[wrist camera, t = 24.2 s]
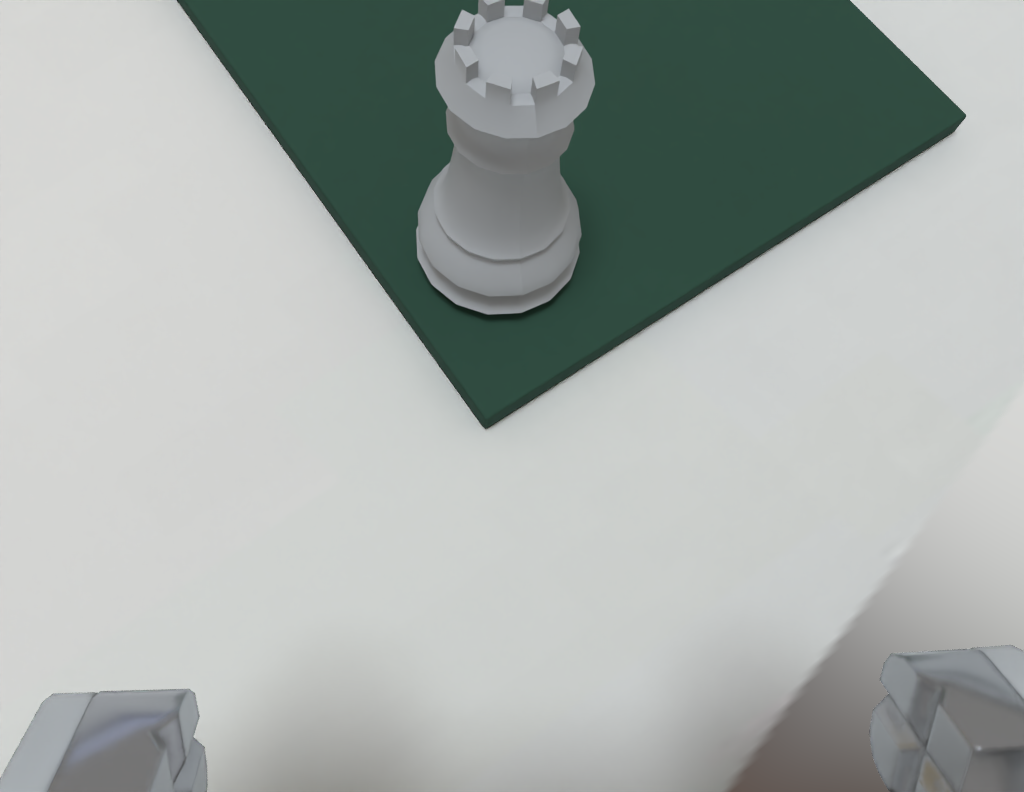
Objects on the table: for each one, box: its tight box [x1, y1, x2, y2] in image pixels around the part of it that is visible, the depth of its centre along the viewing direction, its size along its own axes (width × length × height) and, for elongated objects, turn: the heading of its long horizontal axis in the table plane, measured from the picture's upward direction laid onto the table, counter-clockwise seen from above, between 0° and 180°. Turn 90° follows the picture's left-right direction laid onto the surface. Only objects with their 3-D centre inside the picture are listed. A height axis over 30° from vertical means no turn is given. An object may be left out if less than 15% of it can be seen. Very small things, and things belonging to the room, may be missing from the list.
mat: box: [177, 0, 966, 428], centre depth 28 cm, size 20×18×1 cm
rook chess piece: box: [416, 0, 595, 314], centre depth 21 cm, size 4×4×8 cm
